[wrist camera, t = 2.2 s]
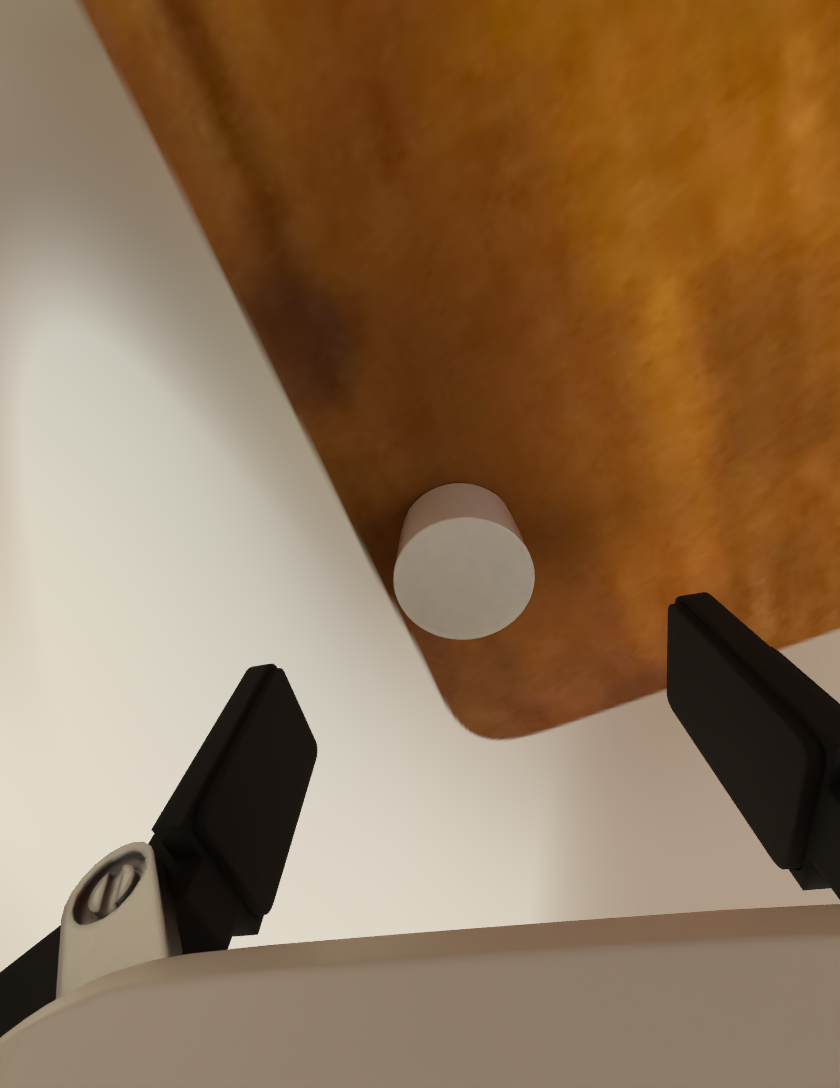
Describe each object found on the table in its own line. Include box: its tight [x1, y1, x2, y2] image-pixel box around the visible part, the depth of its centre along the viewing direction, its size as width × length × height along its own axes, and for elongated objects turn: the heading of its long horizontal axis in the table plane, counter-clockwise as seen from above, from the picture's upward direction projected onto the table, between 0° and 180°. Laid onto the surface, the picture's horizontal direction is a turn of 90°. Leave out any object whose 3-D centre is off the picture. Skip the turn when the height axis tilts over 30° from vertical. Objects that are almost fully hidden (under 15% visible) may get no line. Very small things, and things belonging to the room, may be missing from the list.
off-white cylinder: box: [393, 483, 535, 639], centre depth 15 cm, size 5×5×4 cm
